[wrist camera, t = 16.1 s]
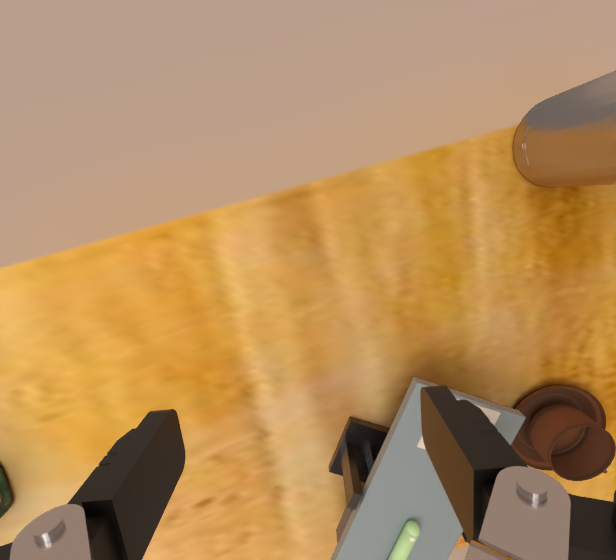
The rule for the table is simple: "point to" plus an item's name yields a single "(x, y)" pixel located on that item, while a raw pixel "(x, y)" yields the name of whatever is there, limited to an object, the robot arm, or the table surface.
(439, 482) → the platform
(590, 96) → the robot arm
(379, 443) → the pivot stand
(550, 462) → the cup and saucer
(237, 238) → the table surface
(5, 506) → the coffee jar
